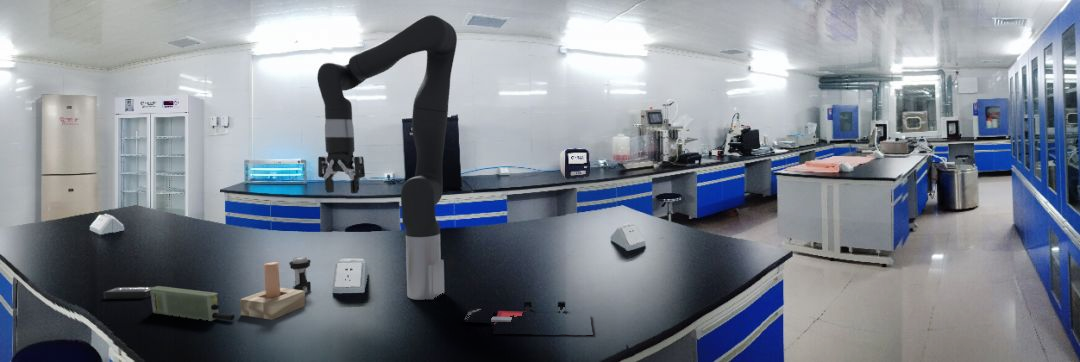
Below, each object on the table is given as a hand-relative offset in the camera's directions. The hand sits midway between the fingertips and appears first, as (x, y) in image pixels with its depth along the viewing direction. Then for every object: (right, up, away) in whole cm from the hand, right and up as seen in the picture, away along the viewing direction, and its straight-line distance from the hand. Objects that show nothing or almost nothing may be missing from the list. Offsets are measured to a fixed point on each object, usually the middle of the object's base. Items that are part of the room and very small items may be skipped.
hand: (342, 192), depth 132 cm
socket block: (-11, -30, -15) cm, 35 cm away
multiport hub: (-57, -29, -4) cm, 64 cm away
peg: (-11, -30, -15) cm, 35 cm away
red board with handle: (+54, -31, -22) cm, 66 cm away
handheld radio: (-29, -30, -19) cm, 46 cm away
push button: (-11, -29, -2) cm, 31 cm away
